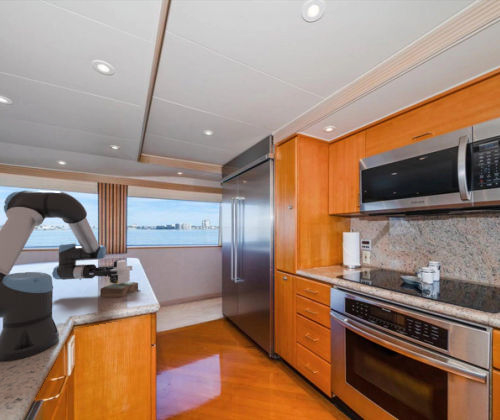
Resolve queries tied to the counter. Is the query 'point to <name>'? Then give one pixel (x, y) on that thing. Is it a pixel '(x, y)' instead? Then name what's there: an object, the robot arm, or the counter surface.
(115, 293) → the walnut stand
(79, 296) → the counter surface
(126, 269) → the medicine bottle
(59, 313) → the counter surface
